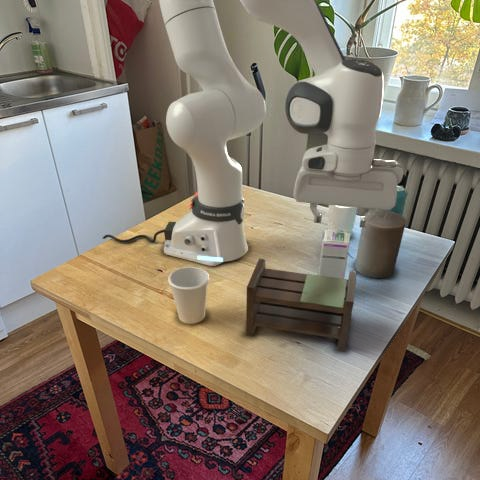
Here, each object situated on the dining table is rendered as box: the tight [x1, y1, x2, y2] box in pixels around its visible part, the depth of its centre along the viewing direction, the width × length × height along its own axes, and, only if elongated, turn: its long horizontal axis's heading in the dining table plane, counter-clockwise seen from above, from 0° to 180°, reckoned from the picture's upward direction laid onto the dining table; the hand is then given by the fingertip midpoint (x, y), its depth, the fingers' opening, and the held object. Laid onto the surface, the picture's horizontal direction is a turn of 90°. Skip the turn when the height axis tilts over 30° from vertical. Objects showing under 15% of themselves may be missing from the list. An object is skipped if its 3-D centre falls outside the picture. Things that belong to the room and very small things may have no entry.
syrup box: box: [318, 229, 351, 279], centre depth 101 cm, size 6×6×14 cm
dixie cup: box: [167, 266, 210, 325], centre depth 95 cm, size 8×8×10 cm
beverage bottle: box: [377, 173, 409, 216], centre depth 116 cm, size 6×7×20 cm
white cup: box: [326, 205, 359, 239], centre depth 125 cm, size 8×8×10 cm
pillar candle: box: [354, 209, 407, 279], centre depth 109 cm, size 10×10×15 cm
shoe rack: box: [245, 258, 358, 352], centre depth 91 cm, size 20×11×12 cm, turn 76°
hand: (340, 224), depth 95 cm, fingers open, 8 cm apart
